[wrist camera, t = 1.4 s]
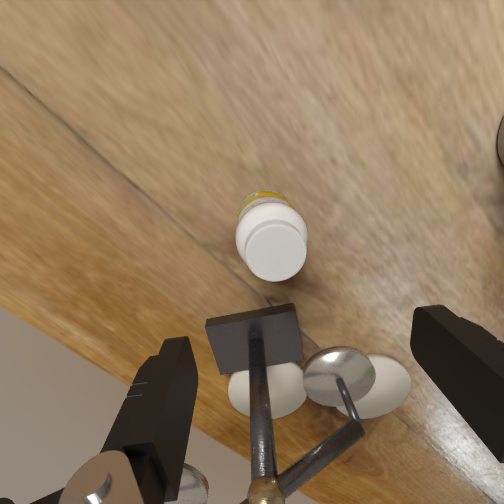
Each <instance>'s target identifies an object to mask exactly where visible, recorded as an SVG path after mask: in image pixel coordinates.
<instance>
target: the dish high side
mask: <svg viewBox="0 0 504 504" xmlns="http://www.w3.org/2000/svg"><path fill="white" fill-rule="evenodd" d="M302 371H303V369H302V368H301V366H300V365H299V364H298V363H297V362H290V363H284V364H279V365H273V366H267V376H268V386H269V395H270V405H271V414H272V419H276V418H280V417H284V416H286V415H288V414H291V413H292V412H294V411H295V410H297V409H298V408H299V407H300V406H301V405H302V404H303V402H304V401H305V399H306V397H307V394H306V392H305V389H304V385H303V381H302ZM228 395H229V399H230V401H231V403H232V405H233V406H234V407H235V408H236V409H237V410H238V411H239V412H241V413H242V414H244V415H246V416H249V417H250V398H249V370H245V371H239V372H234V373H231V375H230V378H229V388H228Z"/></svg>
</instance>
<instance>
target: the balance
mask: <svg viewBox="0 0 504 504" xmlns="http://www.w3.org/2000/svg"><path fill="white" fill-rule="evenodd" d="M205 329H206V332H207V335H208V338H209V341H210V344H211V347H212V350H213V353H214V356H215V359H216V362H217V365H218V368H219V371H220V375H223V374H228V373H234V372H239V371H245V370H249V398H250V441H251V485H250V487H249V490H248V494H247V499H245V500H244V501H243V502H241V503H240V504H285V499H286V498H287V497H288V496H289V495H291V494H292V493H293V492H294V491H296V490H297V489H298V488H299V487H301V486H302V485H303V484H305V483H306V482H307V481H308V480H310V479H311V478H312V477H313V476H315V475H316V474H317V473H318V472H320V471H321V470H322V469H323V468H325V467H326V466H327V465H328V464H330V463H331V462H332V461H333V460H335V459H336V458H337V457H338V456H340V455H341V454H342V453H343V452H345V451H346V450H347V449H348V448H350V447H351V446H352V445H353V444H355V443H356V442H357V441H358V440H360V439H361V438H362V437H363V436H365V432H364V429H363V424H362V422H361V420H360V417H359V415H358V413H357V410H356V408H355V406H354V402H356V401H358V400H360V399H361V398H363V397H364V396H365V395H366V394H367V393H368V392H369V391H370V390H371V389H372V387H373V385H374V383H375V379H376V372H375V369H374V366H373V365H372V363H371V361H370V360H369V358H368V357H367V355H366V354H365V353H363V352H362V351H360V350H358V349H356V348H353V347H349V346H335V347H330V348H327V349H324V350H322V351H320V352H318V353H316V354H315V355H314V356H312V357H311V358H310V359H309V360H308V362H307V363H306V364H305V366H304V368H303V371H302V381H303V385H304V389H305V392H306V394H307V395H308V397H309V398H310V399H312V400H313V401H314V402H316V403H318V404H321V405H324V406H332V407H336V406H344V405H345V407H346V409H347V412H348V415H349V417H350V421H349V422H348V423H346V424H345V425H344V426H342V427H341V428H340V429H338V430H337V431H336V432H334V433H333V434H332V435H331V436H329V437H328V438H327V439H325V440H324V441H323V442H321V443H320V444H319V445H317V446H316V447H315V448H313V449H312V450H311V451H309V452H308V453H307V454H305V455H304V456H303V457H301V458H300V459H299V460H297V461H296V462H295V463H293V464H292V465H291V466H289V467H288V468H287V469H285V470H284V471H283V472H281V473H280V474H279V475H278V472H277V462H276V453H275V443H274V434H273V424H272V414H271V405H270V395H269V386H268V376H267V366H273V365H279V364H284V363H290V362H295V361H301V360H304V358H303V352H302V346H301V340H300V334H299V328H298V322H297V316H296V310H295V307H294V304H293V303H290V304H285V305H279V306H274V307H269V308H264V309H258V310H253V311H248V312H243V313H237V314H232V315H227V316H221V317H216V318H211V319H207V320H206V325H205ZM208 489H209V486H208V482H207V480H206V478H205V476H204V475H203V474H202V473H201V472H200V471H198V470H197V469H196V468H194V467H192V466H190V465H188V464H186V463H184V466H183V471H182V477H181V482H180V488H179V493H178V499H177V501H171V502H164V503H163V504H207V499H208Z"/></svg>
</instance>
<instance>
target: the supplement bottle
mask: <svg viewBox="0 0 504 504" xmlns="http://www.w3.org/2000/svg"><path fill="white" fill-rule="evenodd" d="M307 242H308V232H307V228H306V225H305V222H304V221H303V219H302V217H301V216H300V215H299V213H298V212H297V211H296V210H295V209H294V207H293V206H292V205H291V204H290V203H289V202H288V200H287V199H286V198H285V197H283V196H282V195H281V194H279V193H277V192H274V191H270V190H261V191H257V192H254V193H252V194H251V195H249V196H248V197H247V198H246V199H245V200H244V201H243V202H242V204H241V205H240V207H239V210H238V215H237V227H236V246H237V250H238V252H239V254H240V256H241V258H242V259H243V260H244V262H245V263H246V264H247V265H248V267H249V269H250V270H251V271H252V272H253V273H254V274H255V275H256V276H257V277H259V278H261V279H263V280H266V281H273V282H276V281H283V280H286V279H288V278H290V277H292V276H294V275H295V274H296V273H297V272H298V271H299V270H300V269H301V268H302V266H303V264H304V262H305V259H306V253H307V249H306V246H307Z"/></svg>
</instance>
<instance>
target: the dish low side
mask: <svg viewBox="0 0 504 504" xmlns="http://www.w3.org/2000/svg"><path fill="white" fill-rule="evenodd" d="M366 355H367V357H368V358H369V360H370V361H371V363H372V365H373V366H374V369H375V372H376V379H375V383H374V385H373V387H372V389H371V390H370V391H369V392H368V393H367V394H366V395H365V396H364V397H363V398H361V399H360V400H358V401H356V402H354V406H355V408H356V410H357V413H358V415H359V417H360V418H361V419H366V418H375V417H379V416H382V415H385V414H387V413H389V412H391V411H393V410H394V409H396V408H397V407H398V406H400V405H401V404H402V403H403V402H404V400H405V399H406V398H407V396H408V394H409V392H410V389H411V379H410V376H409V374H408V373H407V371H406V370H405V368H404V367H403V366H402V364H401V363H400V362H399V361H398V360H396V359H395V358H393V357H391V356H388V355H384V354H366ZM336 408H337V409H338V410H339V411H340V412H342V413H343V414H345V415H347V416H349V415H348V412H347V409H346V407H345V405H344V406H336Z"/></svg>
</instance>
